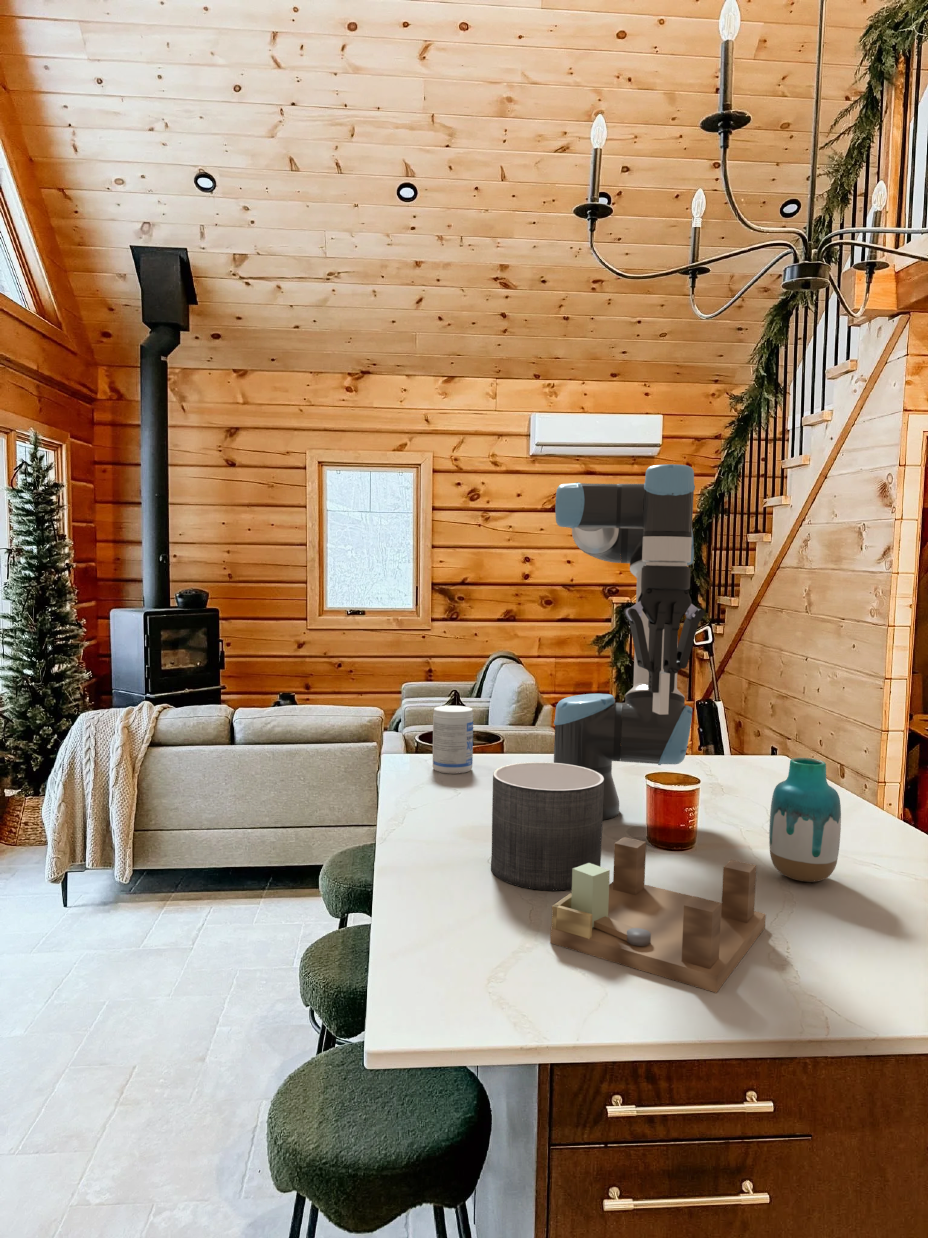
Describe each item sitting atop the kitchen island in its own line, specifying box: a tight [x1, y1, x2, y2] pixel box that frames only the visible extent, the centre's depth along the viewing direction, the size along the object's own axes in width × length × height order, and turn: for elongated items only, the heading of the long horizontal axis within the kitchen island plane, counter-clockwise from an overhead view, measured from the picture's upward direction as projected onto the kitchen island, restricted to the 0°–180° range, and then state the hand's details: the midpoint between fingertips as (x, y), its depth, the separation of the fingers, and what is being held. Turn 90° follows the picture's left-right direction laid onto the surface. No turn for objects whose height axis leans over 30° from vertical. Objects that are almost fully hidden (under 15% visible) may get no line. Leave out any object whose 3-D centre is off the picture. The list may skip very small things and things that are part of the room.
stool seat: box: [549, 836, 767, 994], centre depth 115 cm, size 22×22×9 cm
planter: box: [490, 761, 604, 891], centre depth 138 cm, size 18×18×16 cm
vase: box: [768, 757, 842, 883], centre depth 137 cm, size 11×11×19 cm
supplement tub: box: [432, 705, 474, 774], centre depth 203 cm, size 10×10×15 cm
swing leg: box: [571, 863, 651, 946], centre depth 112 cm, size 4×11×7 cm, turn 43°
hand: (660, 712), depth 136 cm, fingers closed
